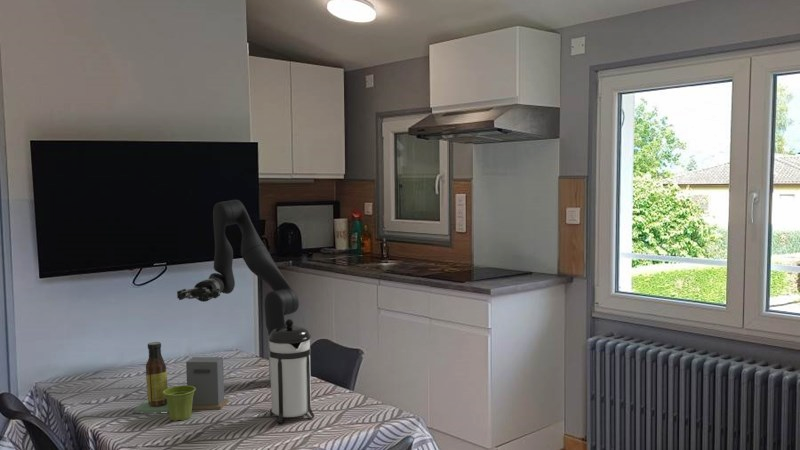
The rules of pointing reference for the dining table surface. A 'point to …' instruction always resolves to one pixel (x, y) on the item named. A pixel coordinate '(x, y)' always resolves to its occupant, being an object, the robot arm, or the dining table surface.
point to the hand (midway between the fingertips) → (191, 296)
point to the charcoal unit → (206, 382)
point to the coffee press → (290, 372)
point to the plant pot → (179, 401)
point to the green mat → (151, 408)
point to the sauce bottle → (156, 375)
